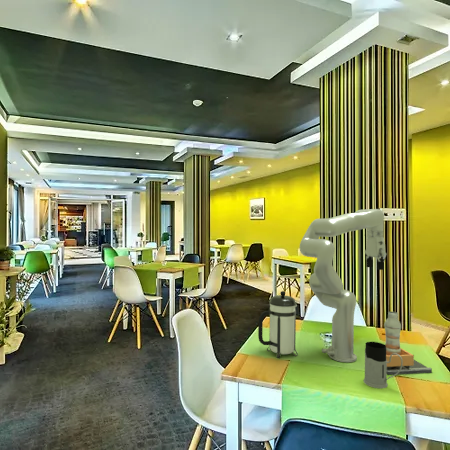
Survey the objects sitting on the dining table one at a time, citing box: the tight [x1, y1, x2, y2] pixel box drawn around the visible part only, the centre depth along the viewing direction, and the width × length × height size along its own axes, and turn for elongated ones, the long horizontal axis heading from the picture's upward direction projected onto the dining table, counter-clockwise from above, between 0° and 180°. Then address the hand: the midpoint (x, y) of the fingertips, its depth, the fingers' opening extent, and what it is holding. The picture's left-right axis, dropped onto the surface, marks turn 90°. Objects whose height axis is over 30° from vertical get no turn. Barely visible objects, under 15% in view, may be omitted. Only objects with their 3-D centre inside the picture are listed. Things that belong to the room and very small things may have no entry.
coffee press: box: [257, 290, 299, 359], centre depth 159 cm, size 17×16×30 cm
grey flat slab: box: [387, 359, 433, 376], centre depth 146 cm, size 20×13×2 cm, turn 97°
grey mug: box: [363, 341, 403, 389], centre depth 129 cm, size 9×14×15 cm, turn 43°
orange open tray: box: [386, 347, 415, 369], centre depth 145 cm, size 12×12×6 cm
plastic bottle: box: [383, 311, 402, 356], centre depth 145 cm, size 6×7×20 cm
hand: (374, 268), depth 169 cm, fingers open, 9 cm apart
